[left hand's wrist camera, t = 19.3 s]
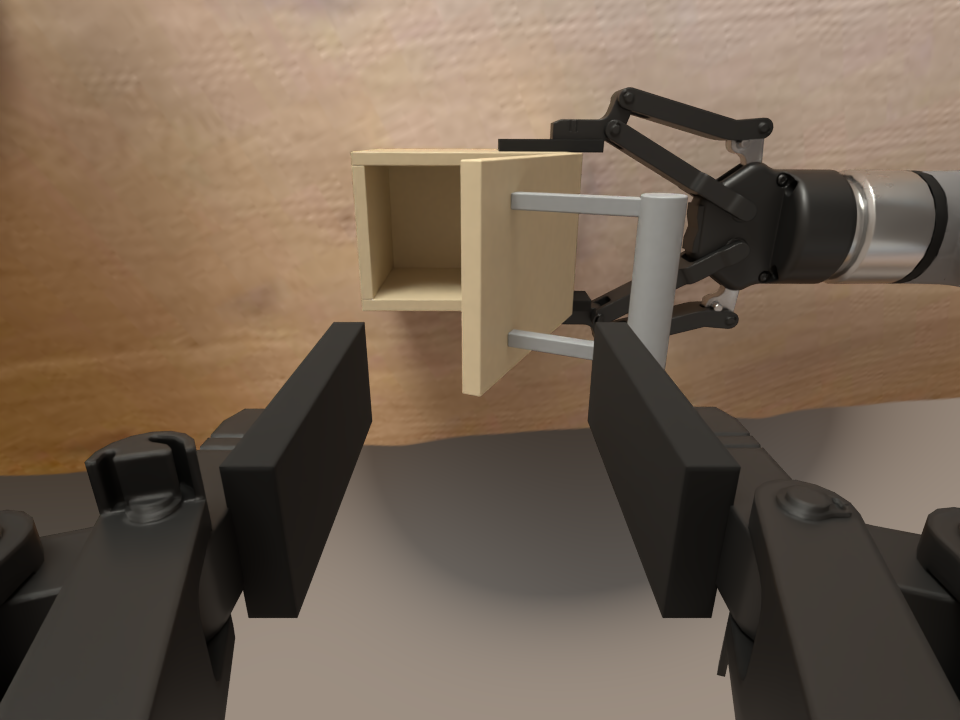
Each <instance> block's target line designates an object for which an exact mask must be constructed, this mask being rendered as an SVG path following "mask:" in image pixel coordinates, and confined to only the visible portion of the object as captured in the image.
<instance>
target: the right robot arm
mask: <svg viewBox="0 0 960 720" xmlns="http://www.w3.org/2000/svg"><path fill="white" fill-rule="evenodd" d="M630 115H633V116H636V117H640V118H643V119H646V120H649V121H653V122H656V123H659V124H663V125H666V126H669V127H672V128H676V129H679V130H682V131H685V132H689V133H692V134H695V135H698V136H702V137H705V138H709V139H713V140H726V149H727V150H728V151H729V152H730V153H735V154H737V155H738V156H739V157H740V161H741V163H740V164H738V165H737V166H735V167H734V168H732V169H731V170H729V171H728V172H727V173H725V174H724V175H722V176H721V177H719V178H718V179H716V180H715V179H714V178H712V177H711V176H709V175H707V174H705V173H703V172H701V171H699V170H697V169H696V168H694V167H693V166H691V165H690V164H688V163H686V162H685V161H683V160H682V159H680V158H679V157H677V156H675V155H674V154H672V153H671V152H669V151H667V150H666V149H664V148H663V147H661V146H660V145H658V144H656V143H655V142H653V141H652V140H650V139H649V138H647V137H645V136H644V135H642V134H641V133H639V132H637V131H636V130H634V129H633V128H631V127H630V126H628V125H626V124H627V121H628V119H629V117H630ZM772 130H773V123H772V121H771V120H770V119H768V118H755V119H742V120H735V119H732V118H728V117H725V116H722V115H719V114H715V113H712V112H709V111H706V110H703V109H699V108H696V107H693V106H690V105H687V104H683V103H680V102H677V101H674V100H670V99H667V98H664V97H661V96H658V95H654V94H651V93H648V92H645V91H642V90H638V89H635V88H631V87H628V88H625V89H622V90H619V91H617V92H615V93H614V94H613V95H612V97H611V103H610V105H609V108H608V110H607V112H606V114H605V115H604V116H603V117H602V118H601V119H599V120H581V119H578V120H577V119H561V120H558V121H555V122H553V123H551V131H550V139H498V151H505V152H603V148H604V141H606V142H608V143H609V144H611V145H612V146H614V147H616V148H617V149H619V150H620V151H622V152H624V153H625V154H627V155H628V156H630V157H632V158H633V159H635V160H636V161H638V162H640V163H641V164H643V165H645V166H646V167H648V168H649V169H651V170H653V171H654V172H656V173H657V174H659V175H661V176H662V177H664V178H665V179H667V180H669V181H670V182H672V183H673V184H675V185H677V186H678V187H679V188H680V189H682V190H683V191H685V192H686V193H688V194H690V195H691V196H693V197H694V198H693V200H692V202H688V209H687V219H688V227H687V230H686V232H685V235H684V239H683V246H682V248H684V249H685V251H684V252H682V253H680V260H679V267H678V275H677V282H676V289H677V288H679V287H681V286H684V285H686V284H693V283H695V282H698V281H700V280H702V279H704V278H706V277H708V276H710V277H711V278H712V279H714V280H715V281H716V282H717V283H719V284H720V288H719V290H718V291H717V292H715V293H713V294H708V295H706V296H704V297H703V298H702V301H701V302H698V301H696V302H688V303H683V304H679V305H675V306H673V312H672V320H671V327H670V335H673V334H677V333H681V332H685V331H689V330H693V329H697V328H701V327H713V328H725V329H730V328H733V327H735V326H736V325H737V323H738V320H739V318H738V315H737V314H735V313H734V308H735V304H736V300H737V297H738V293H739V290H742V289H744V288H746V287H748V286H750V285H754V284H760V283H763V284H816V283H820V282H825V283H827V284H887V283H911V284H943V285H952V286H958V287H960V171H910V170H843V171H840V172H837V171H835V170H778V169H772V168H770V167H768V166H767V165H765V164H764V163H762V156H763V145H764V138H766V137H768V136H769V135H770V134H771V132H772ZM631 285H632V281H630V282H628V283H626V284H624V285H622V286H620V287H618V288H616V289H614V290H612V291H610V292H608V293H606V294H604V295H602V296H600V297H598V298H596V299H594V300H592V301H591V299H590V298H589V296H588V295H587V293H586V292H585V291H574V292H573V307H572V315H571V316H570V317H569V318H567V319H566V320H565V321H564V322H563V323H562V324H585V325H589V326H590V327H591V330H592V335H593V337H594V335H595V322H626V323H628V317H626V318H622V319H618V320H615V319H617V318H619V317H621V316H623V315H625V314H627V313H629V304H630V294H631ZM613 320H614V321H613Z"/></svg>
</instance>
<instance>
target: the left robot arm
mask: <svg viewBox="0 0 960 720" xmlns="http://www.w3.org/2000/svg"><path fill="white" fill-rule="evenodd" d="M371 423H372V412H371V399H370V386H369V373H368V361H367V348H366V335H365V322H334V323H333V324H332V325H331V326H330V328H329V329H328V330H327V331H326V333H325V334H324V335H323V336H322V338H321V339H320V340H319V341H318V343H317V344H316V345H315V346H314V348H313V349H312V350H311V351H310V353H309V354H308V355H307V357H306V358H305V359H304V360H303V362H302V363H301V364H300V365H299V367H298V368H297V369H296V370H295V372H294V373H293V374H292V375H291V377H290V378H289V379H288V380H287V382H286V383H285V384H284V386H283V387H282V388H281V389H280V391H279V392H278V393H277V394H276V396H275V397H274V398H273V399H272V401H271V402H270V403H269V404H268V406H267V407H266V408H265V409H244V410H242V411H240V412H238V413H237V414H235V415H233V416H231V417H230V418H228V419H226V420H224V421H223V422H222V423H221V424H220V425H219V427H218V428H217V429H216V430H215V431H214V432H213V433H212V434H211V438H208V439H207V440H206V441H205V442H204V443H203V444H202V445H201V446H200V450H197V451H196V446H195V442H194V439H193V438H191V437H190V436H188V435H187V434H185V433H179V432H174V431H161V432H149V433H144V434H139V435H134V436H130V437H127V438H125V439H122V440H119V441H116V442H113V443H111V444H109V445H107V446H105V447H104V448H102V449H100V450H98V451H96V452H95V453H94V454H93V455H92V456H91V457H90V458H89V459H87V460H86V461H85V466H86V469H87V472H88V476H89V479H90V482H91V486H92V489H93V493H94V496H95V499H96V503H97V506H98V509H99V513H100V516H99V518H98V520H97V522H96V523H95V525H94V527H90V528H85V529H80V530H75V531H70V532H64V533H59V534H54V535H49V536H43V537H39V535H38V532H37V529H36V526H35V523H34V520H33V518H32V517H31V516H29V515H28V514H26V513H25V512H22V511H13V510H3V511H0V720H225V712H226V705H227V697H228V689H229V681H230V674H231V666H232V658H233V650H234V643H235V634H234V627H233V622H232V617H231V612H232V610H233V608H234V606H235V604H236V602H237V600H238V599H239V597H240V595H241V593H242V591H243V592H244V597H245V602H246V607H247V612H248V617H249V618H297V617H298V615H299V612H300V609H301V607H302V604H303V602H304V599H305V596H306V594H307V591H308V588H309V586H310V583H311V581H312V578H313V575H314V573H315V570H316V567H317V565H318V562H319V560H320V557H321V554H322V552H323V549H324V546H325V544H326V541H327V539H328V536H329V533H330V531H331V528H332V525H333V523H334V520H335V517H336V515H337V512H338V510H339V507H340V504H341V502H342V499H343V496H344V494H345V491H346V489H347V486H348V483H349V481H350V478H351V475H352V473H353V470H354V468H355V465H356V462H357V460H358V457H359V454H360V452H361V449H362V447H363V444H364V441H365V439H366V436H367V433H368V431H369V428H370V426H371ZM588 423H589V426H590V428H591V431H592V433H593V436H594V439H595V441H596V444H597V447H598V449H599V452H600V454H601V457H602V460H603V462H604V465H605V467H606V470H607V473H608V475H609V478H610V481H611V483H612V486H613V489H614V491H615V494H616V497H617V499H618V502H619V504H620V507H621V510H622V512H623V515H624V518H625V520H626V523H627V525H628V528H629V531H630V533H631V536H632V539H633V541H634V544H635V546H636V549H637V552H638V554H639V557H640V559H641V562H642V565H643V567H644V570H645V573H646V575H647V578H648V581H649V583H650V586H651V588H652V591H653V594H654V596H655V599H656V602H657V604H658V607H659V610H660V612H661V615H662V617H663V618H711V617H712V612H713V607H714V602H715V597H716V592H717V588H718V590H719V592H720V594H721V596H722V598H723V599H724V601H725V603H726V605H727V607H728V609H729V611H730V612H729V617H728V622H727V627H726V631H725V636H724V641H723V646H722V650H721V655H720V660H719V665H718V672H717V675H720V676H724V677H725V674H726V669H727V665H728V664H729V672H730V680H731V687H732V695H733V703H734V711H735V719H736V720H960V508H956V507H951V508H941V509H936V510H935V511H934V512H932V513H931V514H929V515H928V517H927V520H926V523H925V526H924V529H923V532H922V534H921V535H920V534H915V533H910V532H904V531H899V530H894V529H888V528H883V527H878V526H873V525H869V524H865V522H864V520H863V519H862V517H861V515H860V513H859V512H858V511H857V510H856V509H855V508H854V506H853V505H852V504H851V503H850V502H848V501H847V500H845V499H844V498H842V497H841V496H839V495H838V494H836V493H835V492H832V491H830V490H827V489H825V488H823V487H820V486H818V485H815V484H811V483H806V482H802V481H798V480H792V479H791V478H790V477H789V476H788V475H787V473H786V472H785V471H784V470H783V469H782V468H781V467H780V466H779V465H778V464H777V463H776V461H775V460H774V459H773V458H772V457H771V456H770V455H769V454H768V453H767V452H766V451H765V449H764V448H760V444H759V443H758V442H757V441H756V440H755V438H754V437H753V436H750V433H749V432H748V431H747V430H746V429H745V428H744V426H743V425H742V424H741V423H740V422H739V421H738V420H737V419H736V418H734V417H732V416H731V415H729V414H727V413H725V412H723V411H722V410H720V409H718V408H716V407H693V406H692V404H691V403H690V402H689V401H688V399H687V398H686V397H685V396H684V394H683V393H682V392H681V391H680V389H679V388H678V387H677V386H676V384H675V383H674V382H673V380H672V379H671V378H670V377H669V375H668V374H667V373H666V372H665V370H664V369H663V368H662V367H661V365H660V364H659V363H658V362H657V360H656V359H655V358H654V357H653V355H652V354H651V353H650V352H649V350H648V349H647V348H646V346H645V345H644V344H643V343H642V341H641V340H640V339H639V338H638V336H637V335H636V334H635V333H634V331H633V330H632V329H631V328H630V326H629V325H628V324H627V323H626V322H595V335H594V348H593V360H592V373H591V386H590V399H589V411H588Z"/></svg>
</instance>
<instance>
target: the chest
mask: <svg viewBox="0 0 960 720" xmlns="http://www.w3.org/2000/svg"><path fill="white" fill-rule="evenodd" d="M558 153H571V152H505V151H498V149H373V150H364V151H354V152H351V165H352V180H353V194H354V207H355V221H356V234H357V247H358V261H359V274H360V288H361V299H362V300H361V301H362V311H462V295H461V171H460V162H461V160H465V159H481V158H496V157H512V156H527V155H543V154H558Z"/></svg>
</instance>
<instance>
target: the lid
mask: <svg viewBox="0 0 960 720" xmlns="http://www.w3.org/2000/svg"><path fill="white" fill-rule="evenodd" d="M582 156H583V154H582V153H558V154H543V155H527V156H512V157H496V158H481V159H465V160H461V162H460V171H461V295H462V393H463V394H468V395H473V396H478V397H481V396H482V395H483V394H484V393H485V392H486V391H487V390H489V389H490V388H491V387H492V386H493V385H494V384H495V383H496V382H497V381H499V380H500V379H501V378H502V377H503V376H504V375H505V374H506V373H507V372H509V371H510V370H511V369H512V368H513V367H514V366H515V365H516V364H517V363H519V362H520V361H521V360H522V359H523V358H524V357H525V356H526V355H527V354H529V353H530V352H531V351H539V352H545V353H551V354H557V355H563V356H570V357H576V358H582V359H588V360H593V348H594V341H590V340H583V339H576V338H570V337H563V336H556V335H550V334H551V333H552V332H553V331H554V330H555V329H556V328H557V327H559V326H560V325H561V324H562V323H563V322H564V321H565V320H566V319H567V318H569V317H570V316H571V315H572V307H573V292H574V277H575V262H576V247H577V232H578V216H579V214H594V215H612V216H629V217H638V227H637V236H636V246H635V256H634V265H633V275H632V285H631V294H630V304H629V313H628V323H627V324H628V325H629V326H630V328H631V329H632V330H633V331H634V333H635V334H636V335H637V336H638V338H639V339H640V340H641V341H642V343H643V344H644V345H645V346H646V348H647V349H648V350H649V352H650V353H651V354H652V355H653V357H654V358H655V359H656V360H657V362H658V363H659V364H660V365H661V367H662V368H663V369H664V370H665V365H666V357H667V350H668V342H669V335H670V327H671V320H672V312H673V305H674V297H675V290H676V282H677V275H678V267H679V260H680V252H681V245H682V237H683V230H684V222H685V215H686V207H687V200H688V197H687V195H684V194H675V193H644V194H642V195H641V197H629V196H606V195H583V194H580V186H581V171H582Z"/></svg>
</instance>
